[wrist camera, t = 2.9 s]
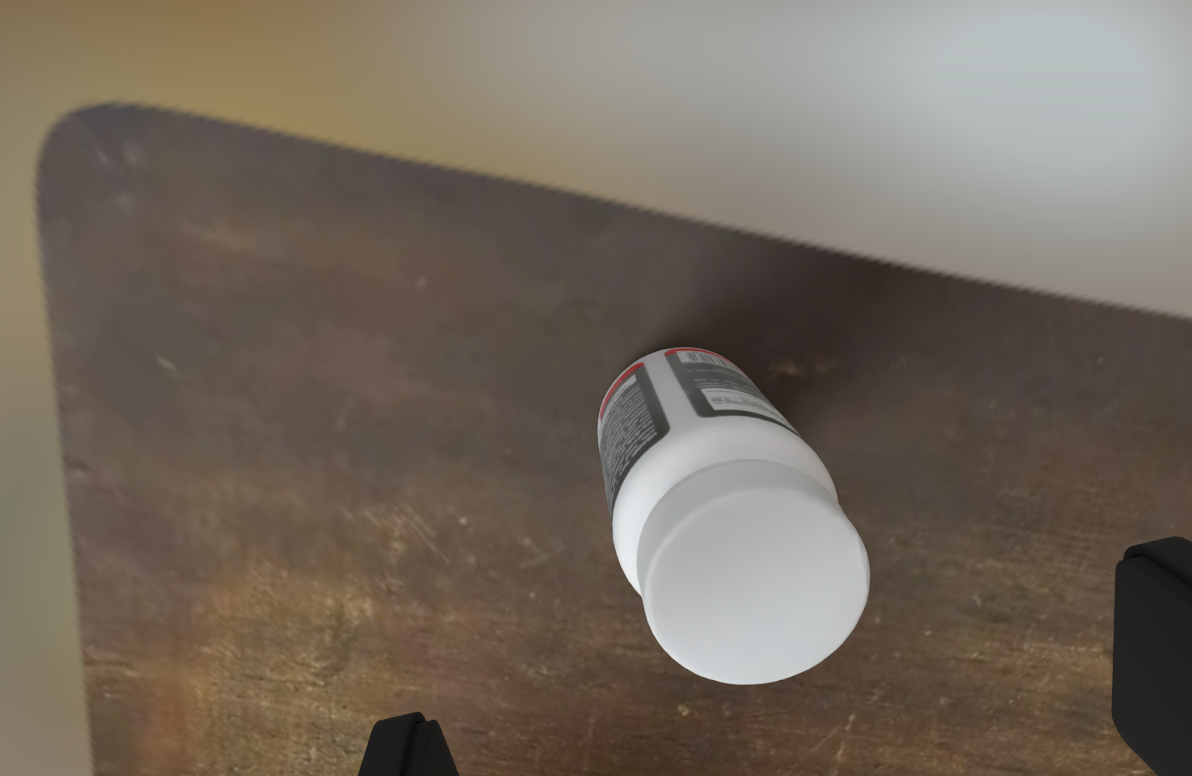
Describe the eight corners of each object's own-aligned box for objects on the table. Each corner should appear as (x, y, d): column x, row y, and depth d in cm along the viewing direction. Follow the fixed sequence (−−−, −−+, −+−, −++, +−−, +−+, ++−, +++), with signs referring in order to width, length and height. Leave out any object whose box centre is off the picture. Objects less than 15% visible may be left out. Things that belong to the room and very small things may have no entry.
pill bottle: (633, 519, 21) (679, 742, 13) (570, 384, 19) (576, 540, 11) (781, 459, 20) (922, 651, 12) (727, 316, 19) (848, 429, 11)
